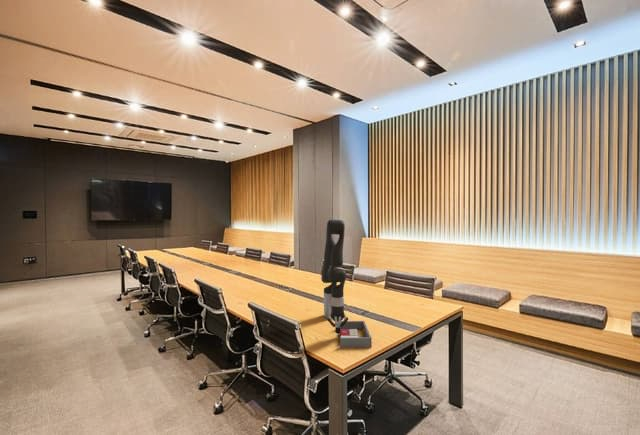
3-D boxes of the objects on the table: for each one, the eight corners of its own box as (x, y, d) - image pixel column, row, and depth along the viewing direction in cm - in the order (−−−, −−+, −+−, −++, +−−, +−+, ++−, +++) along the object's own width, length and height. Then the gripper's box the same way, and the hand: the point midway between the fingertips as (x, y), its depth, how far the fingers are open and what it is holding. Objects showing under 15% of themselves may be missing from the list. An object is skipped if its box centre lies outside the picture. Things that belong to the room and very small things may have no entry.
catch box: (337, 329, 189) (337, 321, 189) (364, 328, 189) (364, 320, 189) (340, 347, 163) (340, 338, 163) (371, 347, 163) (371, 338, 163)
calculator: (357, 328, 181) (359, 337, 166) (357, 335, 181) (359, 345, 166) (339, 328, 182) (339, 337, 167) (339, 335, 181) (340, 345, 166)
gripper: (348, 302, 179) (348, 330, 180) (326, 302, 179) (326, 331, 180) (349, 306, 172) (349, 335, 172) (326, 306, 172) (326, 336, 172)
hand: (337, 333), depth 176 cm, fingers closed
